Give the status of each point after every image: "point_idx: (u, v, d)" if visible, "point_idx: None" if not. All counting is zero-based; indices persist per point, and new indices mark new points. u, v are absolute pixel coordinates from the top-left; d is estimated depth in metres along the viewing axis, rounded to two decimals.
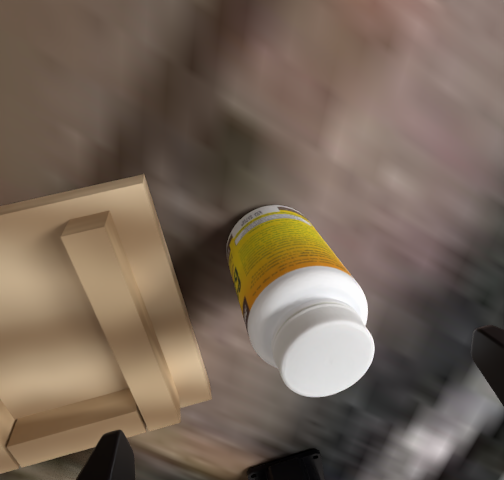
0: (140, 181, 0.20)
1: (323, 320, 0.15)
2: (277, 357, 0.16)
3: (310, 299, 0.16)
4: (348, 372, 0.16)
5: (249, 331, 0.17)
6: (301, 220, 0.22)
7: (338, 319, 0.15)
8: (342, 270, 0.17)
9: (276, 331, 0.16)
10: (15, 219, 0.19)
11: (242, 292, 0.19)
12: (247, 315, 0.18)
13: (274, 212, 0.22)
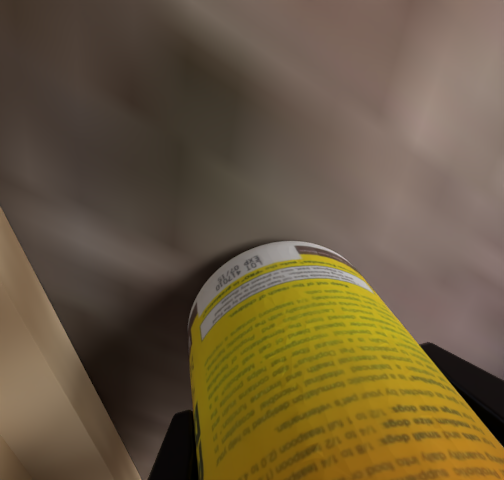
0: None
1: None
2: None
3: None
4: None
5: None
6: (351, 281, 0.09)
7: None
8: None
9: None
10: None
11: None
12: None
13: (289, 261, 0.10)
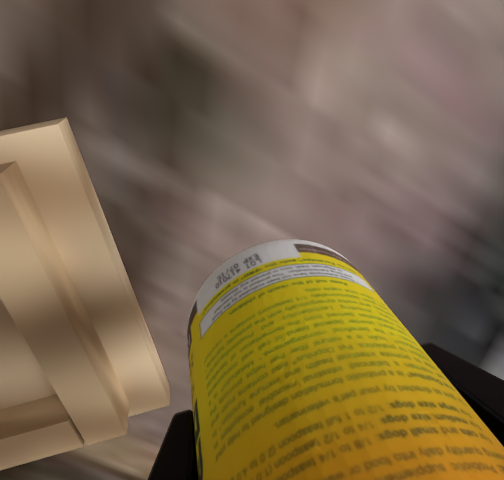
0: (56, 122, 0.15)
1: None
2: None
3: None
4: None
5: None
6: (350, 279, 0.10)
7: None
8: None
9: None
10: None
11: None
12: None
13: (288, 259, 0.10)
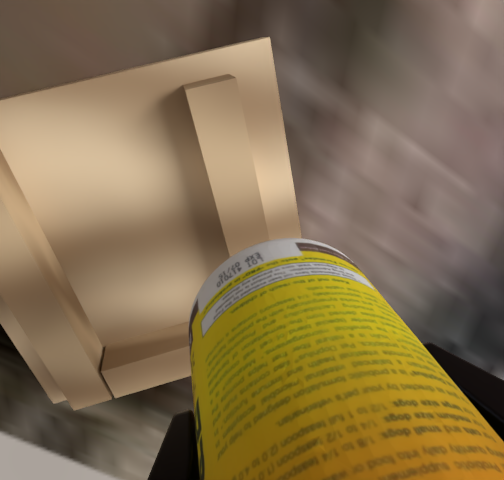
0: (264, 38, 0.17)
1: None
2: None
3: None
4: None
5: None
6: (352, 277, 0.09)
7: None
8: None
9: None
10: (122, 82, 0.16)
11: None
12: None
13: (290, 258, 0.10)
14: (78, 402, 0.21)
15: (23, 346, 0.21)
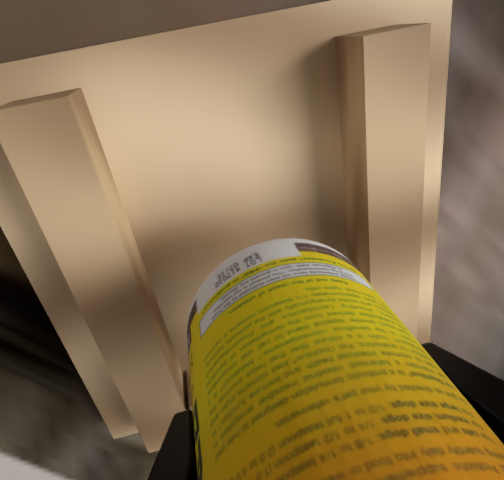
0: None
1: None
2: None
3: None
4: None
5: None
6: (351, 278, 0.09)
7: None
8: None
9: None
10: (259, 28, 0.12)
11: None
12: None
13: (289, 258, 0.10)
14: (155, 443, 0.16)
15: (87, 370, 0.17)
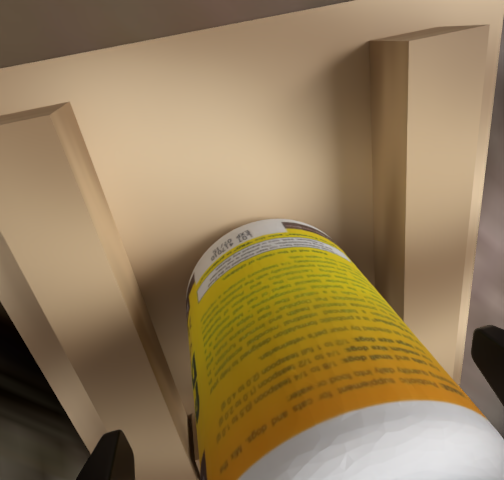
0: None
1: None
2: None
3: None
4: None
5: None
6: (330, 250, 0.11)
7: None
8: (463, 404, 0.06)
9: None
10: (281, 31, 0.10)
11: (200, 433, 0.08)
12: None
13: (276, 234, 0.11)
14: None
15: (79, 417, 0.15)
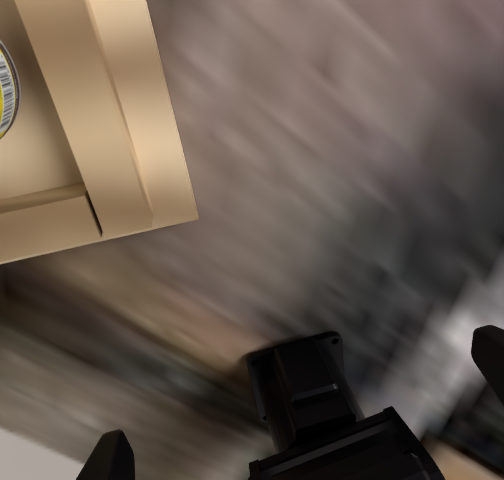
0: None
1: None
2: None
3: None
4: None
5: None
6: None
7: None
8: None
9: None
10: None
11: None
12: None
13: None
14: None
15: None
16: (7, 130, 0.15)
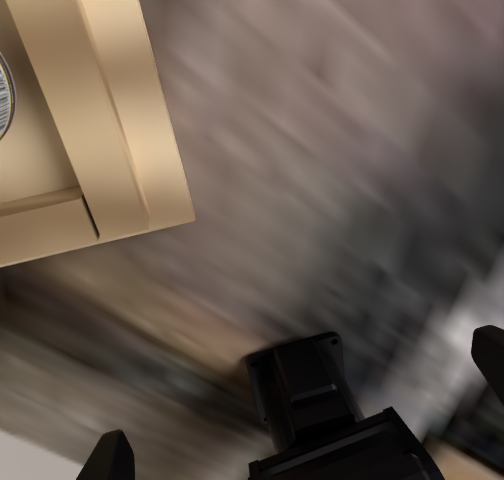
0: None
1: None
2: None
3: None
4: None
5: None
6: None
7: None
8: None
9: None
10: None
11: None
12: None
13: None
14: None
15: None
16: (3, 134, 0.15)
